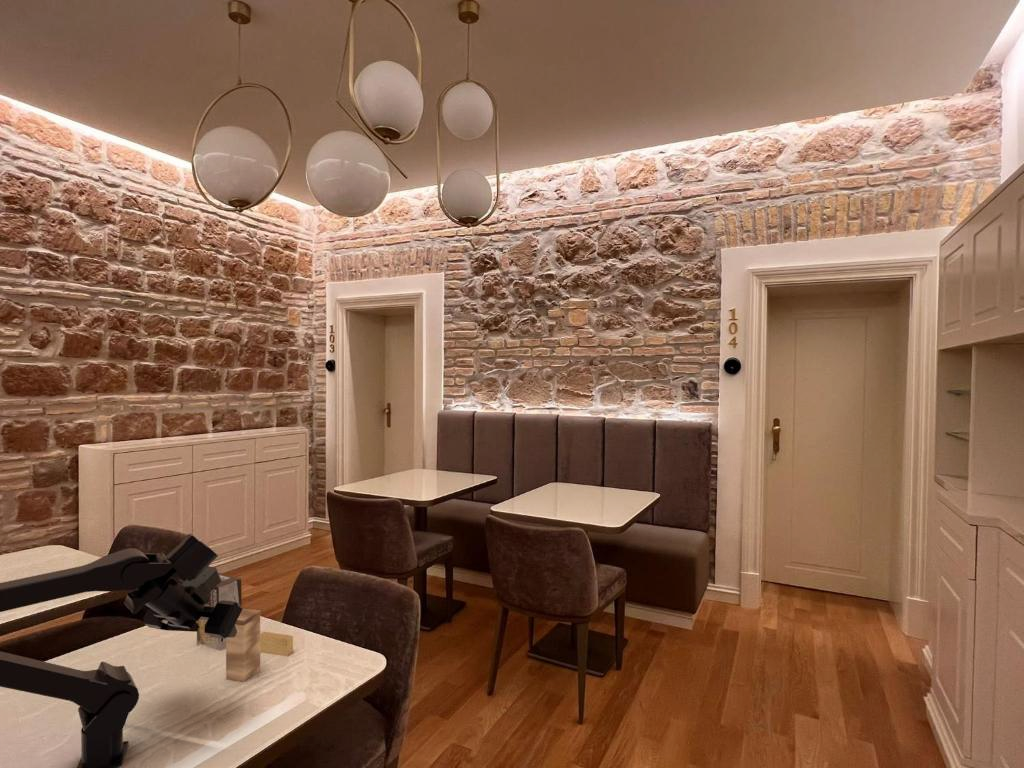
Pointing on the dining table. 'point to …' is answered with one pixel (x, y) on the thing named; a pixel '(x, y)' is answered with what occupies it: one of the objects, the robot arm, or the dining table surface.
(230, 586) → the coffee box
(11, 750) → the dining table surface
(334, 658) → the dining table surface
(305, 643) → the dining table surface
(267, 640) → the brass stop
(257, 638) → the block
